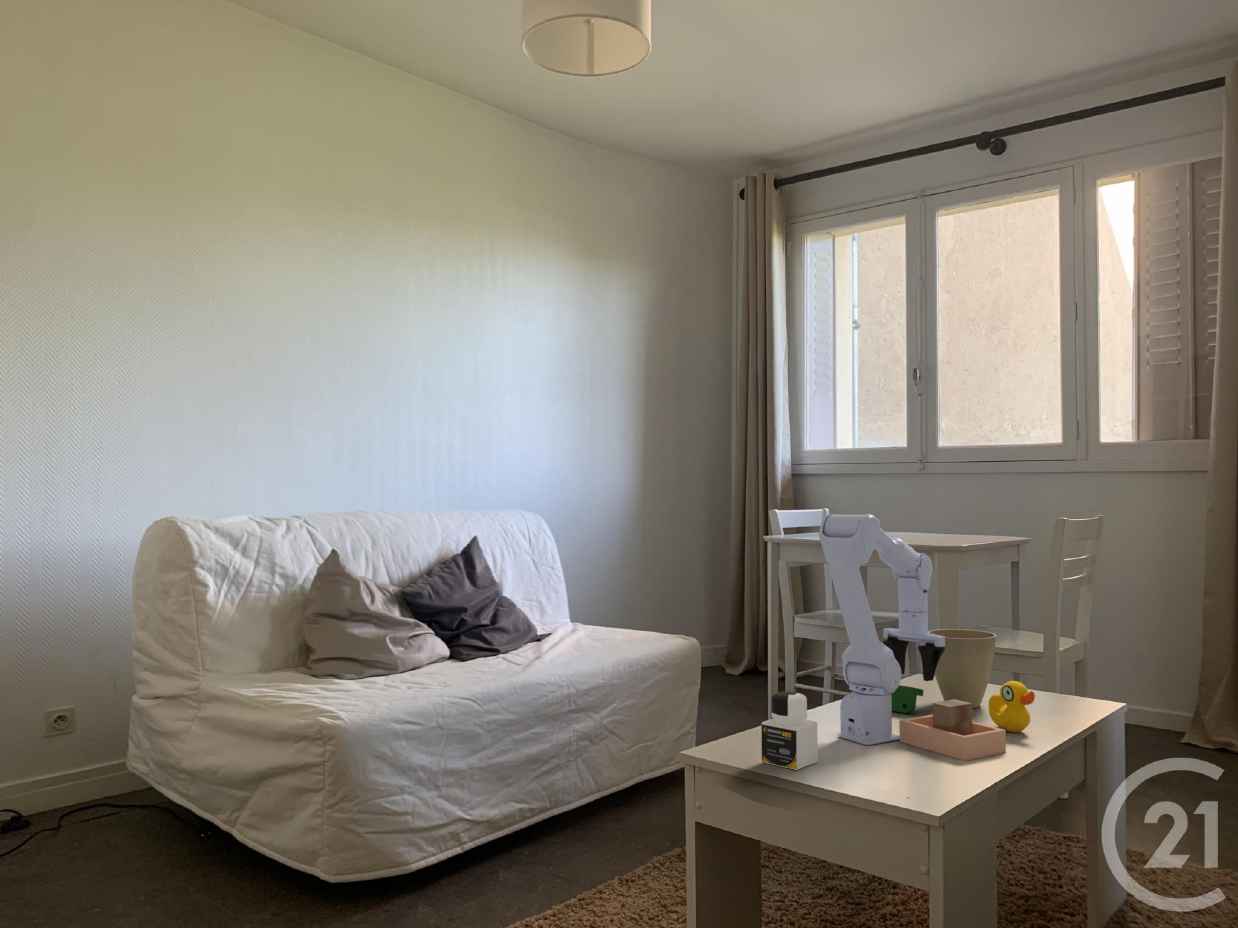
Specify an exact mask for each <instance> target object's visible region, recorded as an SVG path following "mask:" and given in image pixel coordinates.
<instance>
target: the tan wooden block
mask: <svg viewBox="0 0 1238 928" xmlns="http://www.w3.org/2000/svg"><path fill="white" fill-rule="evenodd" d="M932 715H933V728H937V729H941V730H944V731H948V732H952V733H956V734H959V735H963V736H965V735H970V734H973V731H972V722H973V708H972V703H968V702H964V701H959V700H955V699H954V700H947V701H944V700H941V701H936V702H935V701H934V702H932Z"/></svg>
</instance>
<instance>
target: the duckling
mask: <svg viewBox="0 0 1238 928" xmlns="http://www.w3.org/2000/svg"><path fill="white" fill-rule="evenodd" d="M1035 697H1036V696H1035V691H1032V690H1030V691H1029V690H1028V688H1027V687H1026V685H1025V684H1024V683H1022V682H1021V681H1018V680H1017V681H1016V680H1009V681H1006V683H1003V685H1001V686H1000V689H999V693H995V694H992V695H991V696H990V697H989V700H988V715H989V717H990V719H991V720H992V721H993V723H994V724H995V725H997V726H998V727H999V728H1000V729H1004V730H1006V732H1007V731H1008V732H1010V733H1020V732H1022V731H1024V730H1025V729H1026V728H1027V727H1028V726H1029V725H1030V722H1031V715H1030V712H1029V711H1028V709H1027V707H1026V706H1029V705H1031V704H1033V703H1034V701H1035Z"/></svg>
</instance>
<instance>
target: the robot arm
mask: <svg viewBox="0 0 1238 928" xmlns="http://www.w3.org/2000/svg"><path fill="white" fill-rule="evenodd" d="M818 538H819V541H820V543H821V544H820V545H821V548H822V552H823V554H824V555H823V556H824V559H825V561H826V562H827V563H828V569H829V573H830V576H831V579H832V580H831V581H832V584H833V587H834V591H835V595H836V598H837V601H838V606H839V609H840V612H841V616H842V619H843V620H842V621H843V623H844V627H845V630H846V633H847V637H848V641H849V644H850V645H848V647H847V648H845V650H844V651H843V653H842V654H841V660H842V675H843V678H844V681H845V683H846V684H847V685H848V686H849V687H848V689H849V690H851V692H850V694H847V695H845V696H843V698H842V699H841V702H840V708H839V709H840V712H839V713H840V733H837V737H839V738H843V739H846V740H849V741H851V742H852V741H853V742H856V743H858V744H861V745H866V746H870V745H876V744H881V743H888V742H893V741H898V740H899V741H900V734H899V735H898V734H894V733H893V720H892V719H893V717H892V716H893V715H892V713H893V711H892V699H891V693H893V692H895V690H896V689H897V688H898V686H899V685H901V680H902V675H905V671H906V654H907V649H908V646H909V642H911V643H918V644H923V645H918V646H917V650H918V652H919V655H920V659H921V664H922V665H921V666H922V667H921V668H922V679H923V681H924V682H932V681H934V678H935V671H936V667H937V664H938V661H939V659H940V657H941V655H942V654H943V652H944V650H945V647H944V646H945V636H939V635H936V634H932V633H930V632H929V631H930V630H929V628H928V627H929V626H928V625H929V624H928V623H929V620H928V616H929V615H928V613H929V610H928V609H929V608H928V590H929V589H930V587H931V579H932V575H933V570H934V567H933V564H932V560H931V558H930V557H929V555H926V553H924V552H922V553H920V552H917V551H916V550H914V547H912V546H910V545H908V544H907V543H906V542H904V538H903V537H901V536H893V537H892V536H891V537H890V536H889V535H888V534H887V533H886V532H885V531H884V530H883V529H882V528H881V522H880V519H879V518H877V517H876V516H875V515H874V514H871V513H867V514H835V513H828V514H826V515H825V516H824V517H823V519H822V521H821V523H820V528H819V531H818ZM874 550H875V551H877V552H878V558H879V559H880V561H881V562H883V563H884V564H885V565H887V566H888V567H889V568H890V569H891V572H892V575H893V577H894V579H896V580H897V583H898V584H897V585H898V588H897V590H898V628H893V627H885V628H883V638H884V639H886V640H883V642H882V641H880V640H879V637H878V633H877V630H876V626H875V621H874V618H873V615H872V610H871V607H870V603H869V600H868V596H867V593H866V589H865V585H864V582H863V577H862V573H861V569H860V568H861V567H862V566H863V565H865V564H868V562H869V560H870V558H871V555H872V554H873V552H874ZM928 630H929V631H928ZM924 644H925V645H924Z"/></svg>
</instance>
